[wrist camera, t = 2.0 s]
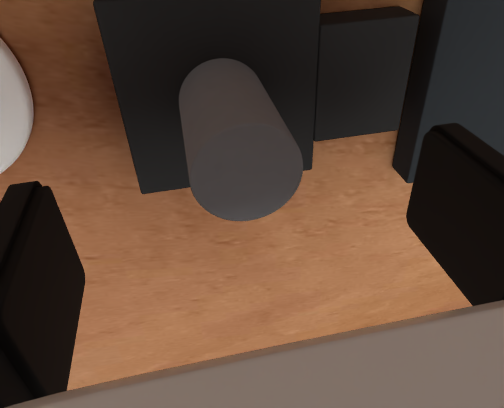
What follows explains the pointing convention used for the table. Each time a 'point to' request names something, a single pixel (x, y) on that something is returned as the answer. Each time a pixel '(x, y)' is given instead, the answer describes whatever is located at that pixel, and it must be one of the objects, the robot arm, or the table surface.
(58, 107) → the table surface
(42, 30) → the table surface
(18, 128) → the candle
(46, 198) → the robot arm
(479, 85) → the dock pad
